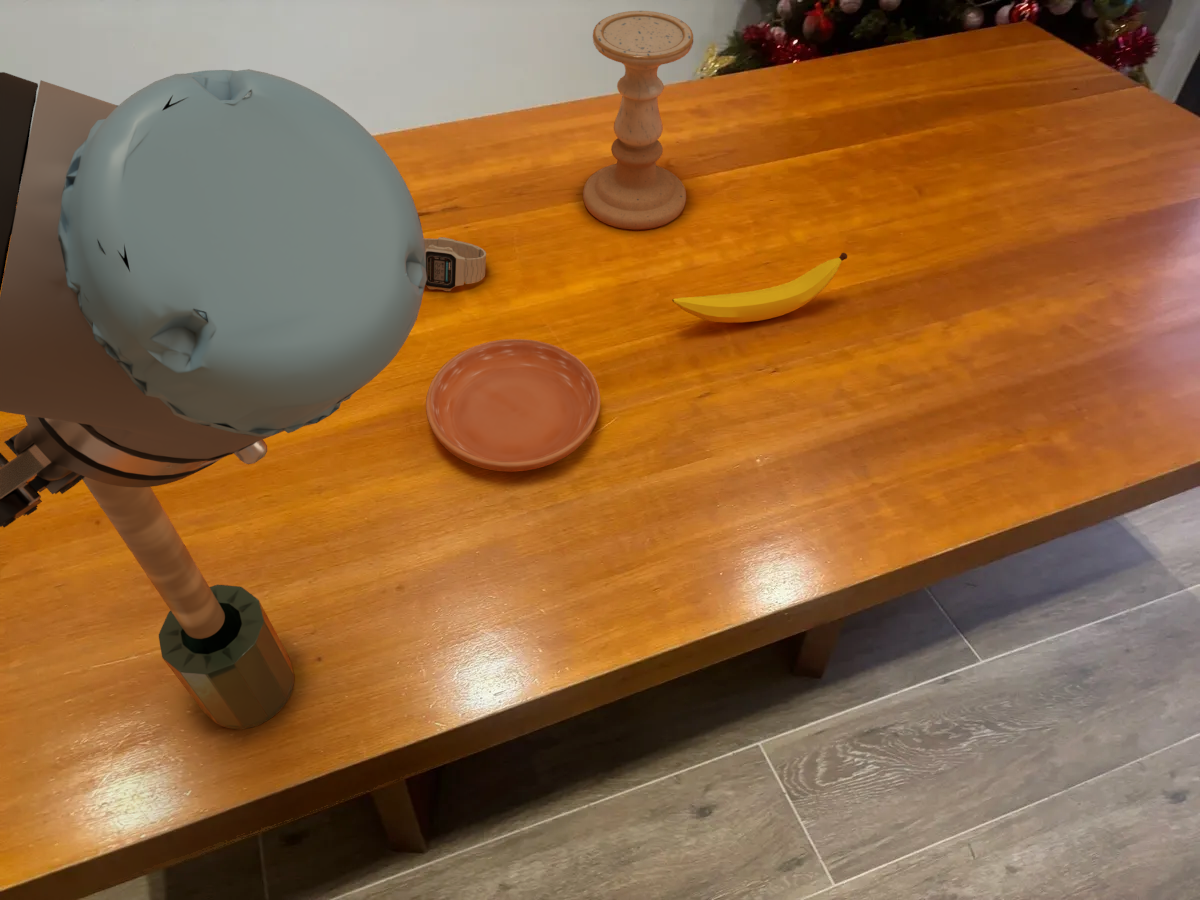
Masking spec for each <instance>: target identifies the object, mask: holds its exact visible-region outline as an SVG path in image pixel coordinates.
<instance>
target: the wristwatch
mask: <svg viewBox="0 0 1200 900" xmlns="http://www.w3.org/2000/svg"><path fill="white" fill-rule="evenodd" d="M424 243H425V251H426V276H427V281H426V284H425V286H426V287H427V289H429V290H431V291H433V290H440V291H444V292H451V291H452V289H454V288H456V287H460V286H464V284H465V285H470V284H471V285H472V284H475V283H478V282H481V281H482V280H484V278H485V276H486V266H487V265H486V264H487V252H486V250H484V249H483V248H482V247H480V246H478V245H475V244H472V243H469V242H466V241H460V240H456V239H453V238H449V237H441V236H440V237H438V238H424Z"/></svg>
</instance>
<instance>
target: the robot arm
mask: <svg viewBox="0 0 1200 900" xmlns="http://www.w3.org/2000/svg"><path fill="white" fill-rule="evenodd" d="M415 204H416V203H415V201H414V199H413V196H412V194H411V192H410V189H409V187H408V184H407V183H406V182H405V180H404V178H403V176H402V175H401V172H400V171H399V169H398V167H397V166H396V164H395V163H394V161H393V160H392V158H391V157H390V156H389V155H388V153H387V152H386V150H385V149H384V148H383V146H381V144H380V142H378V141H377V139H376V138H375V137H374V136H373V135H372V133H370V132H369V131H368V130H367V129H366V128H365V127H364V126H363V124H361V123H360V122H359V121H358V120H356V119H355V118H354V117H353V116H352V115H350V114H349V113H348V112H347V111H345V110H344V109H343V108H341V107H340V106H339V105H338V104H336V103H335V102H333V101H331V100H330V99H328V98H326V97H325V96H324V95H322V94H320V93H318V92H317V91H316V92H315V91H314V90H312V89H311V88H310V87H307V86H304V85H302V84H300V83H297V82H295V81H292V80H290V79H287V78H285V77H283V76H278V75H276V74H272V73H268V72H264V71H259V70H254V69H250V68H249V69H239V70H232V69H213V70H212V69H211V70H210V69H209V70H200V71H194V72H186V73H175V74H171V75H169V76H166V77H163V78H161V79H158V80H156V81H154V82H152V83H150V84H148V85H146V86H144V87H142V88H140V89H139V90H137V91H136V92H134V93H133V94H131V95H130V96H128V97H127V98H126V99H124V100H123V101H122V102H121V103H120V104H118V105H117V104H114V103H112V102H108V101H105V100H102V99H99V98H96V97H93V96H90V95H87V94H84V93H81V92H78V91H75V90H72V89H69V88H66V87H63V86H60V85H56V84H54V83H51V82H48V81H44V80H41V79H40V81H39V83H37V82H34V81H32V80H28V79H26V78H22V77H20V76H16V75H13V74H10V73H8V72H5V71H0V412H3V413H8V414H14V415H21V416H24V418H25V419H24V420H25V422H26V424H27V425H26V426H25V427H24V428H22V429H21V430H20V431H19V432H17V433H16V434H14V435H13V436H11V437H10V438H9V439H7V440H4V442H3V443H4V444H5V446H7V447H8V448H9V449H10V450H11V452H12V453H13V454H14V455H15V457H14V458H13V459H11V460H8V459H7V457H5V456H4V454H2V452H0V528H2V527H3V529H4V528H6V527H8V526H9V525H11V524H12V523H13V522H15V521H17V519H19V518H20V517H25V516H30V515H31V514H33V513H34V512H36V511H37V510H38V507H39V506H38V505H40V504H41V503H43V501H42V495H41V494H40V493H41V492H44V490H48V491H49V493H50V494H51V495H54V494H55V495H57V494H58V493H60V494H61V495H63V494H65V493H66V492H68V491H69V490H70V489H72V488H73V487H75V486H76V485H77V484H78V483H80V482H81V481H83V480H82V479H83V478H84V477H87V478H90V479H93V480H96V481H99V482H102V483H106V484H110V485H115V486H122V487H151V488H152V487H158V486H163V485H168V484H171V483H174V482H175V483H176V482H178V481H181V480H183V479H186V478H187V477H190V476H192V475H194V474H196V473H198V472H200V471H203V470H204V469H206V468H208V467H210V466H212V465H214V464H215V463H217V462H219V461H220V460H222V459H224V458H226V457H227V456H231V455H234V456H235V457H236V458H238V459H239V460H240V461H241V462H243V463H244V464H246V465H253V464H256V463H257V462H259V461H261V460H262V459H263V458H265V456H266V455H267V452H268V444H267V443H266V442H265V440H266V439H268V438H270V437H273V436H275V435H278V434H280V433H283V432H286V433H287V434H290V433H293V432H295V431H298V430H300V429H302V428H304V427H307V426H311V425H315V424H318V423H320V422H321V421H323V420H324V419H326V418H329V417H330V416H331V415H332V414H334V413H335V412H336V411H338V410H339V409H340V407H341V404H342V403H343V402H346V401H347V400H350V399H351V397H352V396H353V395H354V394H355V393H356V392H358V391H359V390H360V389H362V388H363V387H365V386H366V385H368V383H370V382H371V381H373V380H374V378H376V377H377V376H378V375H379V374H380V373H381V372H383V370H384V369H385V368H387V367H388V365H389V364H390V363H391V362H392V361H393V360H394V359H395V357H396V356H397V355H398V353H399V352H400V350H402V347H403V346H404V345H405V342H406V341H407V340H408V337H409V335H410V334H411V332H412V330H413V328H414V326H415V324H416V321H417V319H418V317H419V313H420V309H421V306H422V301H423V298H424V297H423V296H424V290H425V286H426V285H425V284H426V281H427V276H426V251H425V243H424V232H423V227H422V223H421V219H420V215H419V213H418V210H417V207H416V205H415Z"/></svg>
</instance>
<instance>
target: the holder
mask: <svg viewBox="0 0 1200 900" xmlns="http://www.w3.org/2000/svg"><path fill="white" fill-rule="evenodd" d="M209 587H210V589H211V591H212V592H213V594H214V596H215V597H216V599H217V601H218V603H219V604H220V606H221V608H222V609H223V611H224V614H225V620H224V623H223V625H222V627H221V628H220V629H219V630H218V631H217V632H216V633H215V634H213V635H212V636H210V637H207V638H203V639H196V638H192V637H190V636H188V635H187V634H186V632H185V631H184V629H183V628H182V626H181V625H180V623H179V622H178V620H177V619H176V617H175V616H174V615H173V613H172V612H171V610H170V609H169V611H168V613H167V614H166V617H165V620H164V622H163V623H162V626H161V629H160V630H159V633H158V643H159V647H160V654H161V658H162V660H163V661H164V662H165V664H166V665H167V666H168V667H169V668H170V670H171V671H172V672H173V674H174V675H175V676H176V678H177V679H178V681H179V682H180V683H181V685H182V686H183V687H184V688H185V690H186V691H187V692H188V694H189V695H190V696H191V698H192V699H193V700H194V701H195V703H196V704H197V706H199V708H200V709H201V710H202V712H203V713H204V714H206V715H207V716H208V718H209V719H210V720H212V722H214V724H216V725H218V726H220V727H223V728H226V729H231V730H246V729H251V728H255V727H257V726H260V725H262V724H264V723H266V722H268V721H269V720H270V719H272V718H273V717H274V716H276V715H277V714H278V713H279V712H280V711H281V710H282V709H283V708H284V707H285V705H286V704H287V702H288V700H289V699H290V697H291V695H292V693H293V690H294V686H295V672H294V668H293V665H292V663H291V660H290V657H289V654H288V653H287V651H286V649H285V647H284V644H283V643H282V641H281V639H280V637H279V636H278V634H277V632H276V630H275V628H274V626H273V624H272V622H271V621H270V618H269V616H268V615H267V612H266V611H265V609H264V607H263V604H261V601H260V599H259V598H257V597H256V596H255V595H253V594H252V593H251V592H249V591H248V590H246V589H245V588H244V587H242V586H237V585H227V584H214V585H211V586H209Z"/></svg>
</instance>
